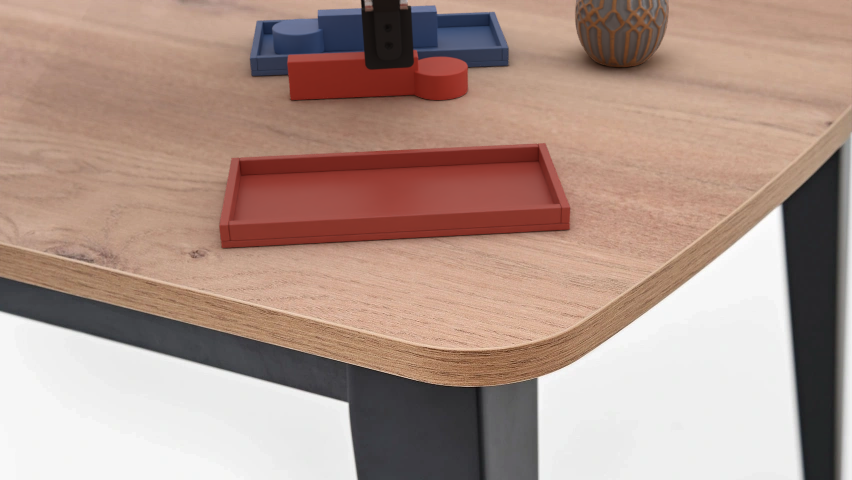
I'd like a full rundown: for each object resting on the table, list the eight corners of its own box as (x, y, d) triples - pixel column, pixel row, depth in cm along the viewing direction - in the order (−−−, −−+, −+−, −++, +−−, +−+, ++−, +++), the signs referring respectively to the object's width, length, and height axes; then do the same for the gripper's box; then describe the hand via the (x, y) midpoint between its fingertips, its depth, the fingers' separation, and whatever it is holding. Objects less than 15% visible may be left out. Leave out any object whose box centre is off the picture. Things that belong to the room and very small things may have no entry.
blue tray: (251, 76, 89) (249, 57, 88) (258, 37, 97) (256, 20, 96) (508, 65, 90) (508, 47, 90) (494, 28, 98) (494, 11, 98)
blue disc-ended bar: (435, 35, 96) (434, 0, 94) (439, 52, 92) (438, 16, 91) (275, 41, 94) (271, 6, 93) (273, 58, 91) (269, 22, 90)
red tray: (221, 248, 65) (218, 225, 65) (233, 178, 73) (231, 157, 72) (569, 229, 67) (570, 206, 66) (545, 163, 75) (545, 142, 74)
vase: (682, 67, 90) (691, -52, 86) (598, 79, 88) (604, -42, 83) (638, 39, 96) (644, -73, 91) (558, 50, 93) (561, -64, 89)
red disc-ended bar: (289, 106, 83) (286, 68, 82) (291, 86, 87) (288, 48, 86) (470, 99, 84) (470, 60, 83) (465, 79, 88) (464, 42, 87)
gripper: (312, -236, 83) (332, 8, 91) (307, -198, 68) (332, 91, 76) (421, -240, 83) (432, 3, 92) (441, -203, 68) (451, 84, 77)
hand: (386, 43), depth 84 cm, fingers open, 9 cm apart
